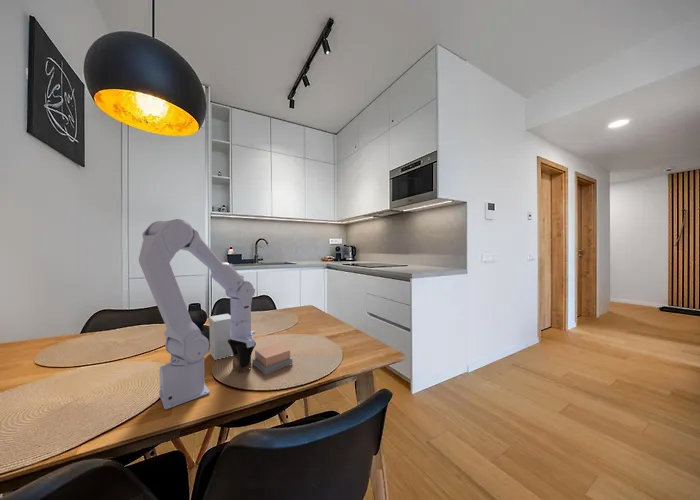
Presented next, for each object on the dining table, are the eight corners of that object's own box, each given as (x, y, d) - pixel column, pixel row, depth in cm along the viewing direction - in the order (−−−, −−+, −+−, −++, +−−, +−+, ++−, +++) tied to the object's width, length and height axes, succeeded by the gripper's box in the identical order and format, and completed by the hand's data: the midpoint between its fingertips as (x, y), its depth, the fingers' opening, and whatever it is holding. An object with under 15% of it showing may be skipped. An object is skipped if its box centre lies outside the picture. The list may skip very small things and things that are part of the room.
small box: (235, 355, 88) (234, 317, 88) (214, 361, 84) (213, 321, 84) (228, 348, 94) (228, 313, 94) (209, 353, 90) (208, 316, 90)
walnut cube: (237, 373, 76) (237, 359, 76) (232, 368, 79) (232, 355, 79) (251, 368, 79) (250, 355, 79) (245, 364, 82) (245, 351, 82)
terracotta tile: (265, 366, 76) (265, 358, 76) (255, 357, 82) (255, 350, 82) (290, 358, 81) (290, 350, 81) (278, 350, 87) (278, 343, 87)
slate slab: (265, 376, 75) (265, 368, 75) (252, 366, 82) (252, 358, 82) (292, 366, 81) (292, 358, 81) (278, 357, 88) (278, 350, 88)
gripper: (264, 322, 76) (265, 367, 76) (244, 312, 86) (245, 352, 87) (239, 327, 71) (240, 376, 71) (222, 317, 82) (223, 359, 82)
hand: (241, 363), depth 79 cm, fingers closed on walnut cube, 4 cm apart
